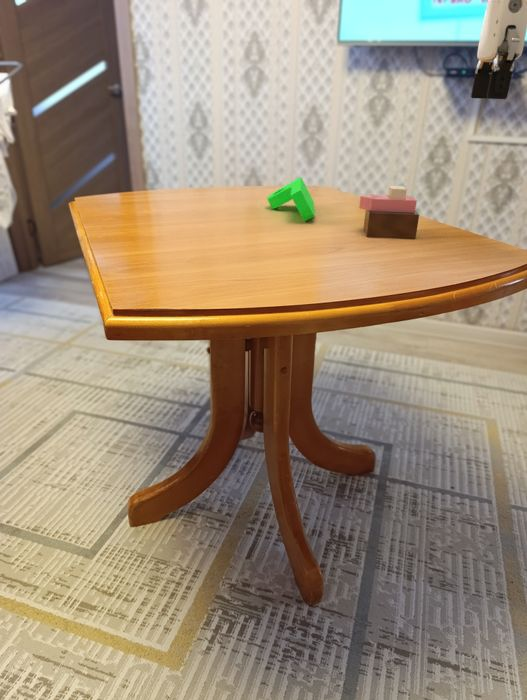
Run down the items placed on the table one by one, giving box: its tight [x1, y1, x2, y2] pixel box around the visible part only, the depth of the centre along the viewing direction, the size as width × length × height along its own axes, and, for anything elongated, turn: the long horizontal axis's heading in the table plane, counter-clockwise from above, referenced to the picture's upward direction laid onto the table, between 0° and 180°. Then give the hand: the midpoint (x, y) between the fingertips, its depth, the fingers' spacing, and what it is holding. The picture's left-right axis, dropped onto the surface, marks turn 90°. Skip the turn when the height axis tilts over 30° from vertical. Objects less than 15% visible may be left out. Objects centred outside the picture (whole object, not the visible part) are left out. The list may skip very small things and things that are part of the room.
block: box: [363, 209, 420, 240], centre depth 108 cm, size 10×8×5 cm
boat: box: [358, 185, 418, 213], centre depth 106 cm, size 11×5×4 cm, turn 85°
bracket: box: [266, 176, 316, 222], centre depth 123 cm, size 20×10×7 cm
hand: (487, 98), depth 90 cm, fingers open, 9 cm apart
